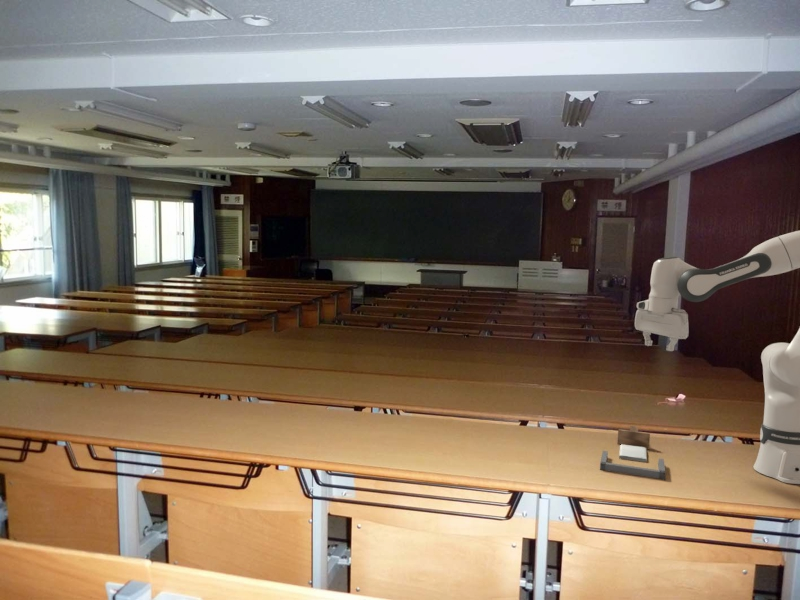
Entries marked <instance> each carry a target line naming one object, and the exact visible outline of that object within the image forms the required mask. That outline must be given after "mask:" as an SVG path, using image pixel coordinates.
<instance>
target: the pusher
mask: <svg viewBox="0 0 800 600" xmlns="http://www.w3.org/2000/svg"><path fill="white" fill-rule="evenodd" d="M650 437H651V433H650V432H643V431H639V426H634V425H630V427H629V430H628V429H620V428H618V429H617V445H619V444H625V445H631V446H639V447H645V448H646V449H648V448H649V449H650V439H651V438H650Z"/></svg>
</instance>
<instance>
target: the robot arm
mask: <svg viewBox="0 0 800 600" xmlns="http://www.w3.org/2000/svg"><path fill="white" fill-rule="evenodd" d="M797 269H800V230H795V231H792V232H788V233H785V234H782V235H781V234H780V235H779V236H778V235H777V236H774V237H773V238H770V239H768V240H765V241H763V242H762V243H760V244H758V245H756V246H754V247H753V248H752V249H751V250H750V251H749V252H748V253H747V254H745V255H743V257H741V258H738V259H736V260H733V261H731V262H728V263H725V264H723V265H722V264H721V265H719V266H716V267H714V268H709V269H707V268H706V269H703V268H697V267H695V266H693V265H691V264H689V263H687V262H685V261H684V260H682V259H681V258H680V257H678V256H667V257H661V258H658V259H656V260H655V261H654V262H653V265H652V267H651V274H650V282H649V284H650V292H649V294H648V299H645V300H642V301H639V302H636V308H637V310H636V312H635V317H634V328H635V330H637V331H641V332H642V335H643V337H644V338H643V339H644V345H645V346H647V347H650V346H652V345H653V340H652V339H651V335H652V334H655V335H659V336H664V337H668V338H669V341H670V342H669V343H668V344H666V348H665V349H666V351H667V352H673V351H675V350H674V349H675V346H676V344H677V343H678V341H679V340H686V339H687V338H688V337H689V333H690V331H689V314H688V312H686V310H685V309H682V308H681V309H680V308H679V307H678V306H679V297H680V296H681V297H682V298H683V299H684V300H686V301H688V302H692V303H700V302H704V301H705V300H707V299H709V298H710V297H711V296H712V295H713V294H715V292H717V291H719V290H720V289H723V288H725V287H727V286H730V285H733V284H736V283H740V282H742V281H745V280H748V279H752V278H760V277H769V276H774V275H776V276H777V275H781V274H783V273H784V274H785V273H788V272H791V271H794V270H797ZM760 359H761V360H760V361H761V364H762V375H763V386H764V407H763V409H764V410H763V422H762V423H761V427H760V433H759V440H760V446H759V449H758V453H757V457H756V459H755V461H754V464H753V467H752V468H753V470H755V471H756V472H758V473H759V474H762V475H764V476H767V477H770V478H773V479H776V480H778V481H780V482H781V483H784V484H785V483H786V484H795V485H800V327H799V328H798V330H797V332H796V334H795V335H794V336H793V338H792V340H791V342H790V343H789V342H774V343H770V344H769V345H767V346H766V347H765V348H764V349H762V352H761V355H760Z"/></svg>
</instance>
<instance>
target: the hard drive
mask: <svg viewBox="0 0 800 600" xmlns="http://www.w3.org/2000/svg"><path fill="white" fill-rule="evenodd" d="M618 455H619V456H618V458H619V459H620V458H621V460H627V461H636V462H643V463H647V461H648V459H647V448H645V447H639V446H631V445H623V444H621V445H619V452H618Z"/></svg>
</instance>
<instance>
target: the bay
mask: <svg viewBox="0 0 800 600" xmlns="http://www.w3.org/2000/svg"><path fill="white" fill-rule="evenodd" d="M601 453H602V454H601V457H600V463H599V470H601V471H606V472H615V473H619V474H620V473H621V474H627V475H633V476H639V477H647V478H653V479H660V480H666V465H665V459H664V458H658V461H657V462H658V463H657V464H658V465H657V466H658V469H655V468H654V469H652V468H648V467H647V468H646V467H640V466H634V465H626V464H621V463H620V464H618V463H614V462H613V463H612V462H608V450H602V452H601Z"/></svg>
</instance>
